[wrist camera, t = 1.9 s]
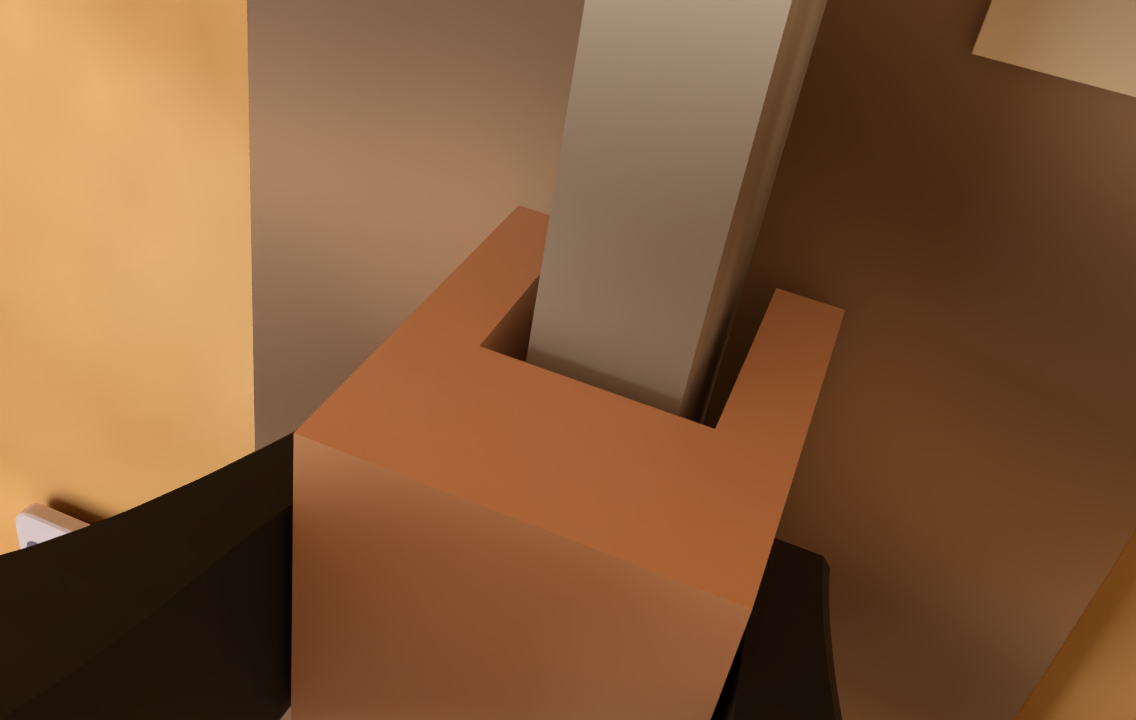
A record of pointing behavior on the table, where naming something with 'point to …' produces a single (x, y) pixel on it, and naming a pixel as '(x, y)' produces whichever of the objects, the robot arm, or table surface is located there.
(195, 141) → the table surface
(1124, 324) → the rail board
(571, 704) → the sleeve
